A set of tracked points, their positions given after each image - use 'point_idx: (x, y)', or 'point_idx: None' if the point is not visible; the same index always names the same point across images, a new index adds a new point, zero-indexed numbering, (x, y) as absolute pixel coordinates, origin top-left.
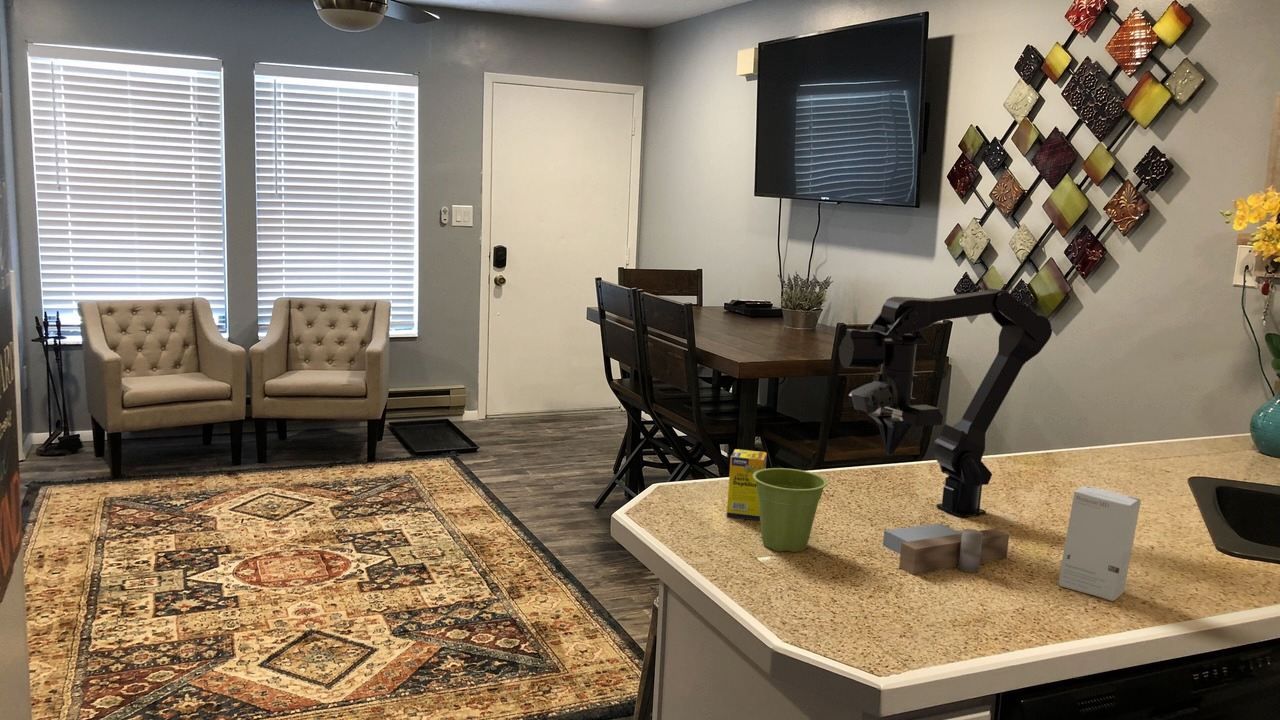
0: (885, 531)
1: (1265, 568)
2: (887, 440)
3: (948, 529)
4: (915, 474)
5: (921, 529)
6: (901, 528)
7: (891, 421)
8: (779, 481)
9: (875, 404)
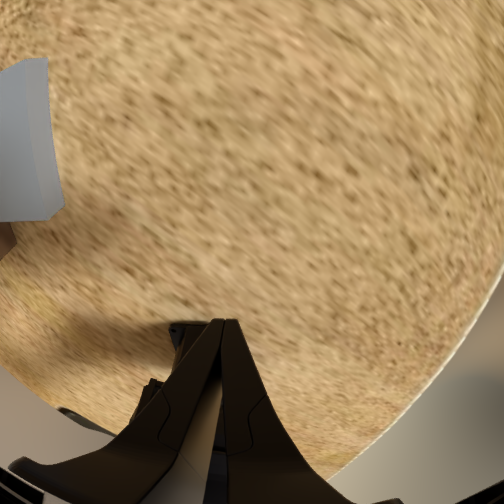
0: (23, 60)
1: (43, 399)
2: (203, 373)
3: (21, 210)
4: (391, 384)
5: (19, 151)
6: (25, 106)
7: (22, 471)
8: None
9: None
